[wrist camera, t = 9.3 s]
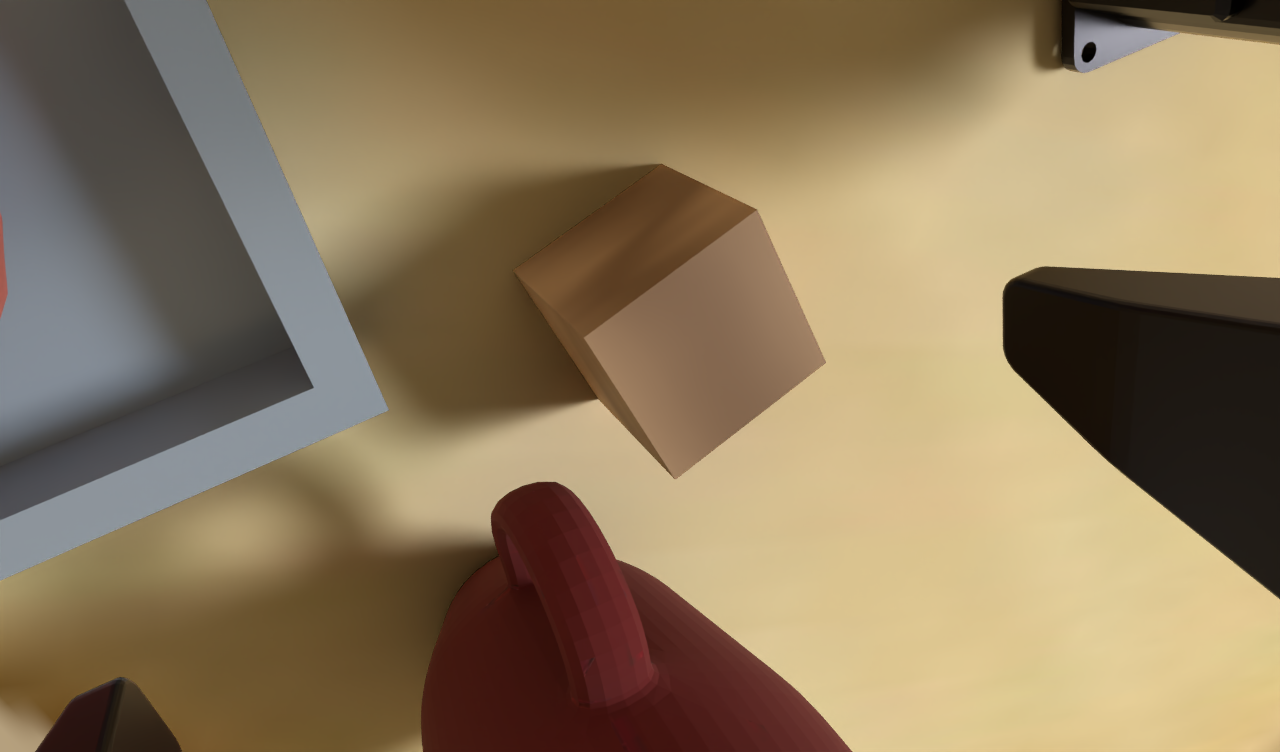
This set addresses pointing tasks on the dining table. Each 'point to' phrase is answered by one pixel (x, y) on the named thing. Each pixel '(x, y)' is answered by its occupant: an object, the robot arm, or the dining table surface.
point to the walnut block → (675, 314)
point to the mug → (595, 654)
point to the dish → (148, 277)
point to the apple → (2, 271)
